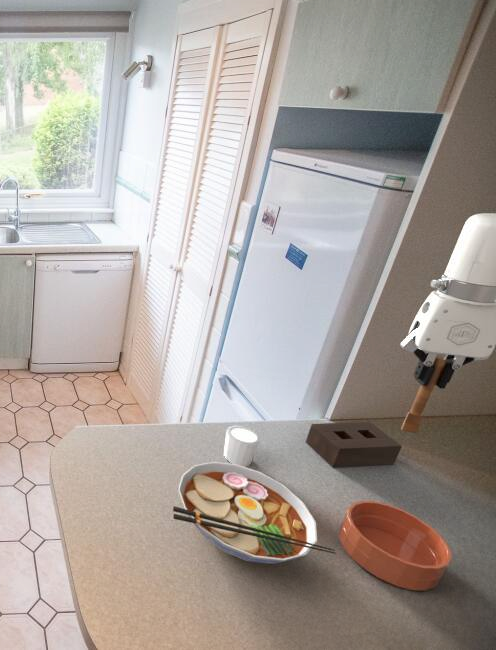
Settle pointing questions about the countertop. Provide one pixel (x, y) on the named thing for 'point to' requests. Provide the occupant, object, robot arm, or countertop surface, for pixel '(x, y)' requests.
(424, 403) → the stick
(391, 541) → the baking dish
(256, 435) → the white short cylinder
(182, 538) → the countertop surface
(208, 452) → the countertop surface
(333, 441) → the holder
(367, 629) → the countertop surface
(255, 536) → the ramen bowl
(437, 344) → the robot arm
